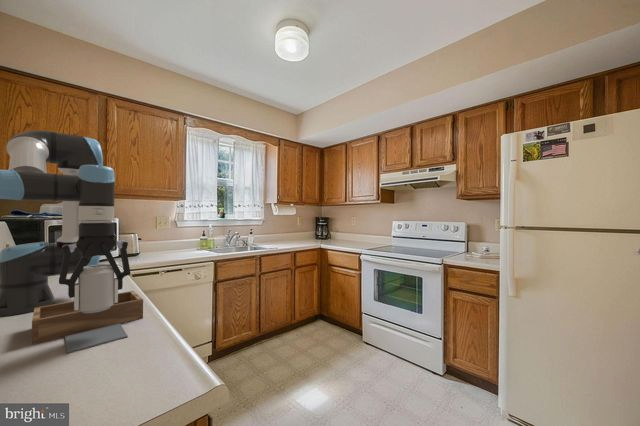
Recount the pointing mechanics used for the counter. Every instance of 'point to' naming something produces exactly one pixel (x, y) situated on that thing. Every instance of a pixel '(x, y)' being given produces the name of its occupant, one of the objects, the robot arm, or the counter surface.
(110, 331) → the mat
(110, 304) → the can
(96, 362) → the counter surface
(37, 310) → the box frame
